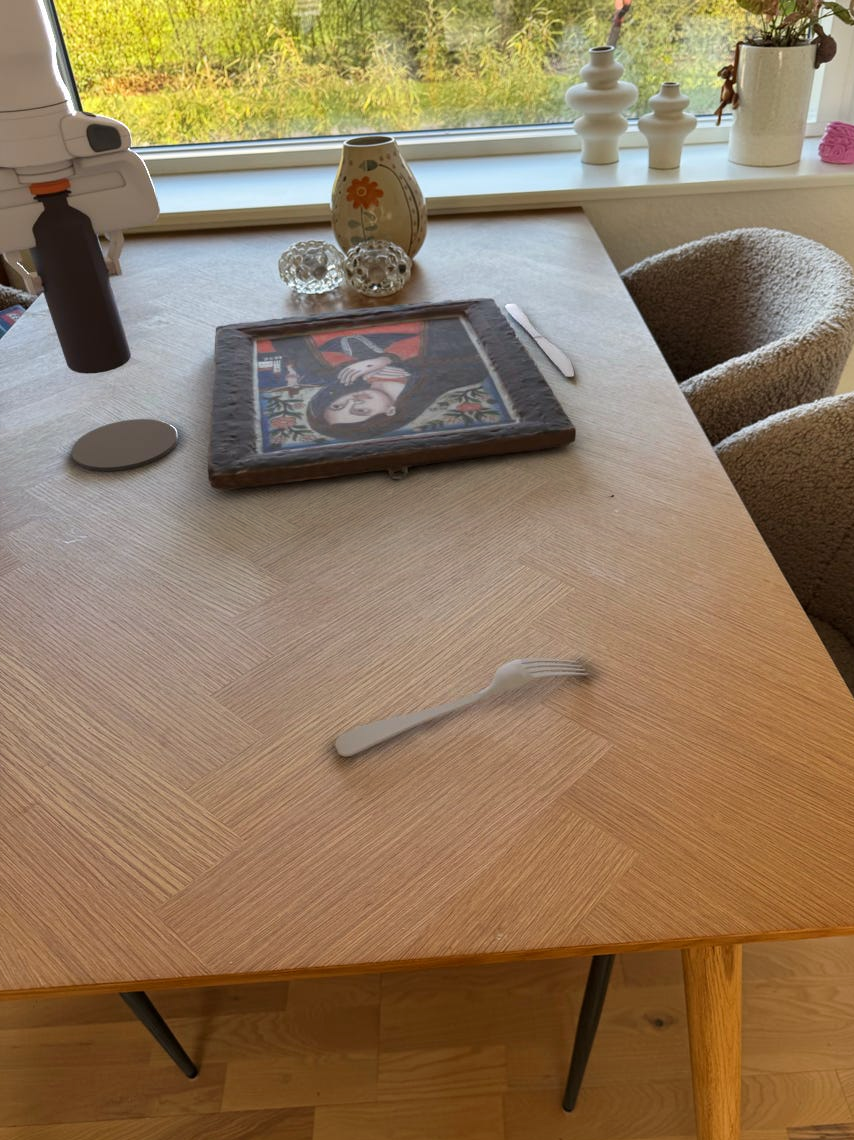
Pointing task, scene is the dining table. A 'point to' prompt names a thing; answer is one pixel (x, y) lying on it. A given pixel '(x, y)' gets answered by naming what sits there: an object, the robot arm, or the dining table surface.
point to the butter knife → (542, 341)
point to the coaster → (125, 445)
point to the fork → (453, 703)
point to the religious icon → (374, 393)
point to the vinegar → (76, 283)
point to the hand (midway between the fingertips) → (76, 283)
